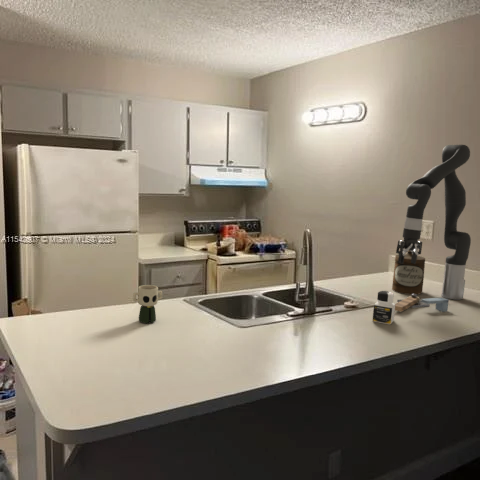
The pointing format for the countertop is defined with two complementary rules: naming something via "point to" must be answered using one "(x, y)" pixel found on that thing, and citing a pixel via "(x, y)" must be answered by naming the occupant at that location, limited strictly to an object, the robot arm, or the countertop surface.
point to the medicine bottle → (384, 308)
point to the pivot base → (417, 303)
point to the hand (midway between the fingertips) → (406, 263)
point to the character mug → (147, 302)
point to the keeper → (437, 303)
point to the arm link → (406, 303)
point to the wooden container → (408, 275)
